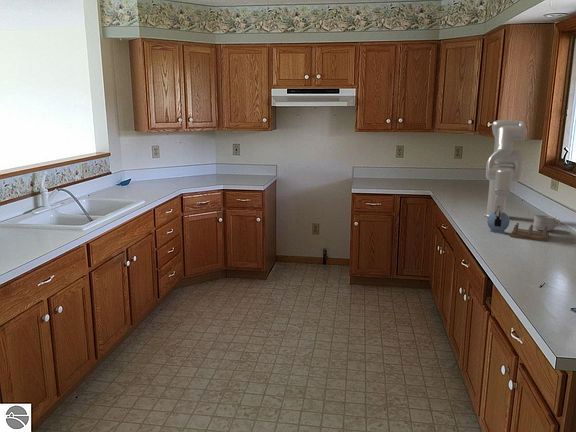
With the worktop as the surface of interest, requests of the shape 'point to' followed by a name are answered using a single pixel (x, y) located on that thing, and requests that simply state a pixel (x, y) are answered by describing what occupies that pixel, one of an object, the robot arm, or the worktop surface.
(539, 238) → the dish rack
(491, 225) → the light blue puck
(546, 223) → the teacup
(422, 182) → the worktop surface
